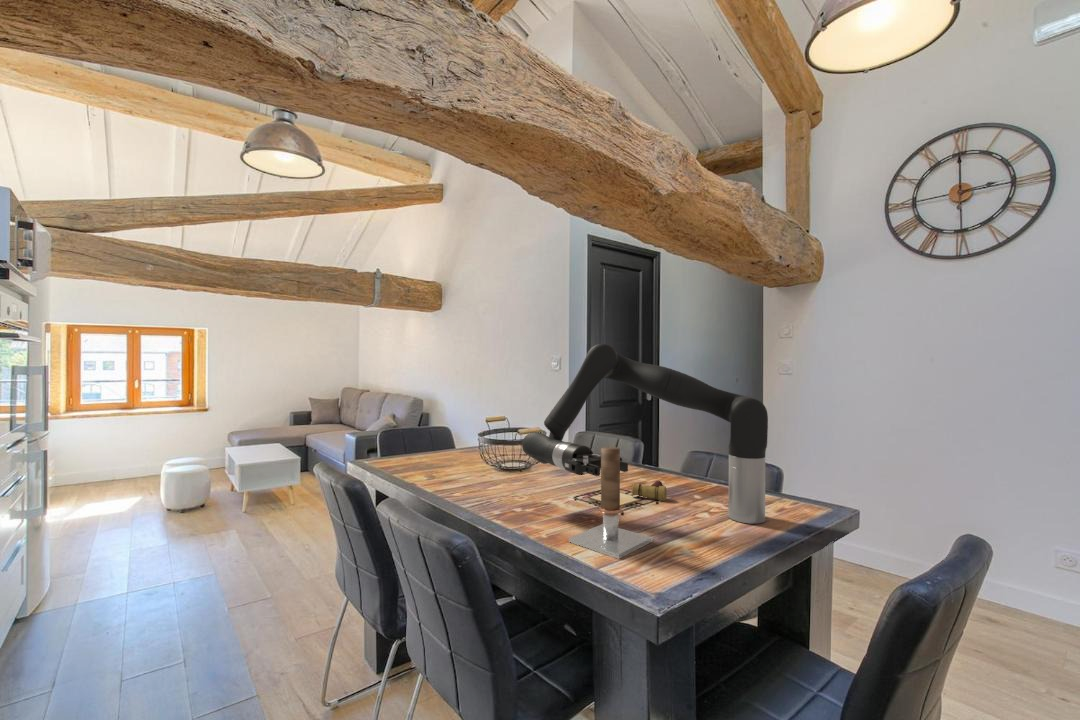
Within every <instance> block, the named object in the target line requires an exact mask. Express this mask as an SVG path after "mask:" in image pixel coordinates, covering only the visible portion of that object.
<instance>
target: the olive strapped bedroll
mask: <svg viewBox="0 0 1080 720" xmlns="http://www.w3.org/2000/svg"><path fill="white" fill-rule="evenodd" d="M632 495H639V496H643V497H647V498H653V499H652V500H662V501H661V502H665V501H667V495H668V490H667V486H663V482H662V481H661V480H656V481H654V483H652V484H651V485H646V484H645V485H644V484H643V485H642V484H641V483H637V482H634V483H633V485H632V488H631V496H632Z"/></svg>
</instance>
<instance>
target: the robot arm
mask: <svg viewBox="0 0 1080 720" xmlns="http://www.w3.org/2000/svg"><path fill="white" fill-rule="evenodd" d="M603 379H607V380H611V381H616V382H619V383H622V384H626V385H627V386H631V387H632V388H635V389H637V390H639V391H641V392H643V393H646V394H648V395H649V396H652V397H655V398H657V399H660V400H661V401H665V402H668V403H670V404H672V405H676V406H678V407H683V408H687V409H690V410H697V411H702V412H705V413H708V414H711V415H714V416H715V417H718V418H720V419H723V420H725V421H726V422H729V423H730V438H729V445H728V509H727V510H728V515H727V516H728V518H729V519H731V520H733V521H735V522H738V523H739V522H740V523H744V524H763V523H765V521H766V451H767V448H768V438H769V437H768V434H769V433H768V431H769V423H768V422H769V415H768V410H767V407H766V406H765V404H764V403H763V402H762V401H760V400H759V399H757V398H755V397H752V396H750V395H749V396H748V395H742V394H737V393H733V392H731V391H726V390H723V389H719V388H716V387H713V386H711V385H710V384H708V383H706V382H705V381H704V382H703V381H702V380H699V379H698V378H696V377H693V376H691V375H689V374H686V373H683V372H682V371H678V370H675V369H673V368H669V367H665V366H663V365H661V366H660V365H656V364H651V363H645V362H640V361H637V360H633V359H630V358H629V357H626V356H624V355H622V354H620V353H618V352H617V351H616V350H615V348H614V347H613V346H611V345H610V344H607V343H597V344H595V345H593V346H592V347H590V348H589V350H588V351H587V353H586V356H585V358H584V360H583V362H582V364H581V366H580V368H579V370H578V371H577V374H576V375H575V377H574V378H573V380H572V382H571V384H570V385H569V386H568V388H567V389H566V390H565V392H564V393H563V394H562V396H561V397H560V398H559V400H558V401H557V402H556V404H555V405H554V407H553V408H552V409H551V411H550V412H549V414H548V415H547V417H546V418H545V420H544V422H543V425H544V426H545V428H546V429H547V430H548V431H549V436H547V435H545V434H543V433H541V432H537V431H533V432H530V433H527V434H526V435H525V436H524V437H523V439H522V441H521V447H522V451H523V452H524V454H526V455H527V456H529V457H530V458H532V459H533V460H535V461H537V462H539V463H540V464H543V465H547V464H549V465H552V466H554V467H557V468H559V469H561V470H562V471H563V470H564V471H566V472H569V473H572V474H575V475H578V476H583V475H587V474H589V475H592V476H595V477H601V454H598V453H594V452H593V450H592V448H590V447H588V446H587V445H583V444H580V443H576V442H572V441H563V440H564V437H565V436H566V435H565V434H566V432H568V429H569V428H570V427H571V426H572V425H573V423H574V421H575V420H576V419H577V416H578V415H579V414H580V412H581V410H582V408H583V407H584V405H585V403H586V401H587V399H588V398H589V397H590V395H591V394H592V392H593V390H594V389H595V388H596V387H597V385H598V384H599V383H600V382H601V381H603ZM628 471H629V464H628V462H626V461H623V457H621V456H620V472H624V473H625V472H626V473H627V472H628Z"/></svg>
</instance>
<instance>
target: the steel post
mask: <svg viewBox="0 0 1080 720" xmlns="http://www.w3.org/2000/svg"><path fill="white" fill-rule="evenodd" d="M599 511H600V512H601V513H602V524H600V525H597V526H594V527H592V528H590V529H586V530H585V531H582V532H580V533H577V534H575V535H573V536H570V537H569V538H568V543H570V542H571V543H570V544H573V543H574V544H573V545H576V544H577V546H579V545H580V546H579V547H582V546H583V547H582V548H585V547H586V548H585V549H588V548H589V549H588V550H591V549H592V550H591V551H594V550H595V552H596V553H600V554H603V555H606V556H608V557H612V558H615V559H618V560H619V559H622V558H623V557H625V556H627V555H629V554H631V553H632V552H636V551H637V550H638V549H640V548H643V547H645V546H646V545H648V544H650V543H652V542H653V537H652V536H649V535H645V534H642V533H639V532H638V533H637V532H635V531H631V530H628V529H624V528H620V527H619V514H621V513H623V507H621V506H620V509H619V510H615V511H608V510H604V509H602V508H601V505H600V506H599Z"/></svg>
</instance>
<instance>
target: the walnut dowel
mask: <svg viewBox="0 0 1080 720" xmlns="http://www.w3.org/2000/svg"><path fill="white" fill-rule="evenodd" d="M600 455H601V470H600V506H601V508H602V509H604V510H608V511H615V510H619V509H620V507H621V491H620V490H621V471H620V457H621V456H620V455H621V449H620V448H619V447H615V446H604V447H601V448H600Z"/></svg>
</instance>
